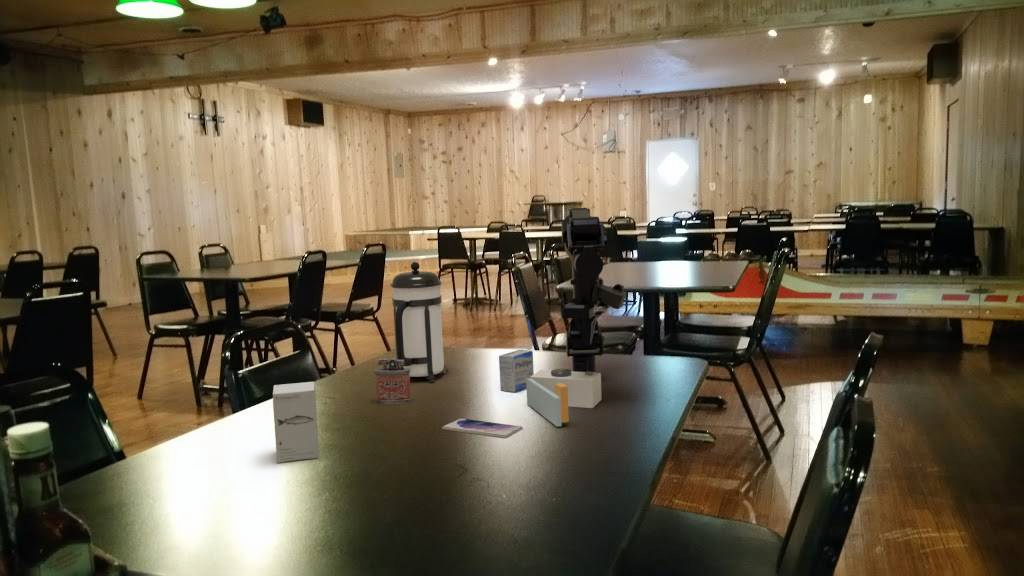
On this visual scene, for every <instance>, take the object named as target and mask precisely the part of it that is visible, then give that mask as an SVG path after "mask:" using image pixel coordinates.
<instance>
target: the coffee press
mask: <svg viewBox="0 0 1024 576" xmlns="http://www.w3.org/2000/svg"><path fill="white" fill-rule="evenodd" d="M410 268H411V271H408V272H407V271H406V272H402V273H401V272H400V273H398V274H396V275H395V276H394V277H393V279H392V281H391V283H390V287H391V289H392V298H391V299H392V300H391V301H392V307H393V322H394V323H393V324H394V341H395V358H396V359H397V360H404V368H410V373H409V375H410V378H413V377H415V378H417V377H419V378H422V377H424V378H426V379H427V380H426V381H427V383H428V384H431V383H435V381H436V377H435V375H437V374H439V373H441V374H443V375H447V374H449V369H448V368H447V367H446V365H445V361H444V359H445V358H444V340H443V319H442V318H443V317H442V300H443V299H442V295H441V285H442V281H441V280H440V278H439V275H437V274H436V273H434V272H432V271H423V270H422V271H420V270H419V269H420V263H419V262H416V261H413V262H412V263H410ZM399 366H400V365H399ZM443 369H445V371H444V372H443Z"/></svg>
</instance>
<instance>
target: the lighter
mask: <svg viewBox="0 0 1024 576" xmlns="http://www.w3.org/2000/svg"><path fill="white" fill-rule="evenodd" d="M376 364H377V366H382V368H376V369H375V370H374V374H375V381H376V383H375V384H376V403H377V404H382V405H393V404H395V405H396V404H397V405H399V404H408V403H412V401H413V398H412V393H411V377H410V375H409V373H410V368H404V360H397V359H396V357H392V358H391V359H388V358H378V359H377V361H376ZM399 365H400V366H399Z"/></svg>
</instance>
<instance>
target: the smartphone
mask: <svg viewBox="0 0 1024 576" xmlns="http://www.w3.org/2000/svg"><path fill="white" fill-rule="evenodd" d="M441 429H442V430H445V431H450V432H451V431H452V432H458V433H463V434H464V433H465V434H473V435H478V436H485V437H491V438H498V439H508V438H510V437H512V436H513V435H515V434H517V433H518V432H521V431H522V430H523V426H520V425H512V424H506V423H499V422H493V421H483V420H475V419H467V418H459V419H458V418H457V419H456V420H453V421H452V422H449V423H446V424H445V425H443V426H442V427H441Z"/></svg>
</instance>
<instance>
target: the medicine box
mask: <svg viewBox="0 0 1024 576" xmlns="http://www.w3.org/2000/svg"><path fill="white" fill-rule="evenodd" d="M533 353H534V351H532V350H529V349H517V350H514V351H511V352H506V353H504V354H500V355H499V356H498V365H499V367H498V368H499V383H500V385H499V386H500V391H501V392H502V391H503V392H508V393H514V394H515V393H518V392H521V391H524V390H527V385H526V378H530V377H531V376H532V375H534V374H535V373H534V354H533Z"/></svg>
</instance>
